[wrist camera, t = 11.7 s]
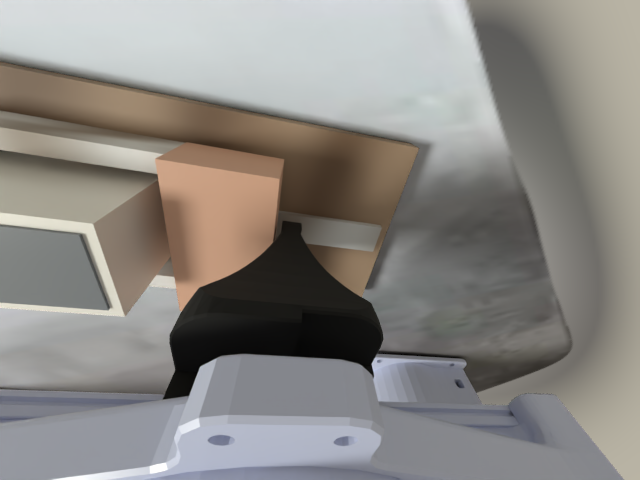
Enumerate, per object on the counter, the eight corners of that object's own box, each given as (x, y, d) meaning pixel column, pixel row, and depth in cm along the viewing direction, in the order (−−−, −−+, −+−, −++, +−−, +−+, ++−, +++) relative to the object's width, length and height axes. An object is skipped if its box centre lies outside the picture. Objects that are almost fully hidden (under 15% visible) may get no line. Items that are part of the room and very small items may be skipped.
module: (171, 170, 11) (90, 225, 7) (180, 242, 13) (123, 318, 9) (18, 147, 10) (-182, 193, 6) (54, 228, 12) (-76, 305, 8)
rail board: (411, 143, 12) (439, 159, 10) (357, 289, 17) (366, 324, 15) (-83, 45, 9) (-228, 31, 7) (31, 257, 14) (-26, 294, 12)
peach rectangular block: (284, 159, 11) (279, 178, 8) (270, 282, 14) (265, 317, 12) (186, 142, 10) (154, 158, 8) (199, 274, 14) (179, 310, 12)
